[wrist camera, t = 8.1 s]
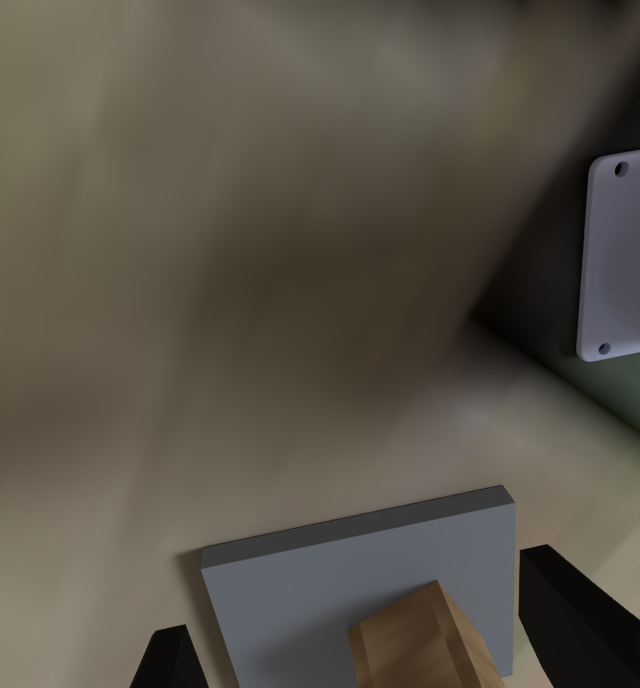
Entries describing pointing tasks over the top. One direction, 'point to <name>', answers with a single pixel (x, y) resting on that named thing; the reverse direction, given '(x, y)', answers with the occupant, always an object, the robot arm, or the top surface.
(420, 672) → the wooden cubby box
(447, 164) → the top surface
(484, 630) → the flat gray board
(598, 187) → the robot arm
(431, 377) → the top surface
